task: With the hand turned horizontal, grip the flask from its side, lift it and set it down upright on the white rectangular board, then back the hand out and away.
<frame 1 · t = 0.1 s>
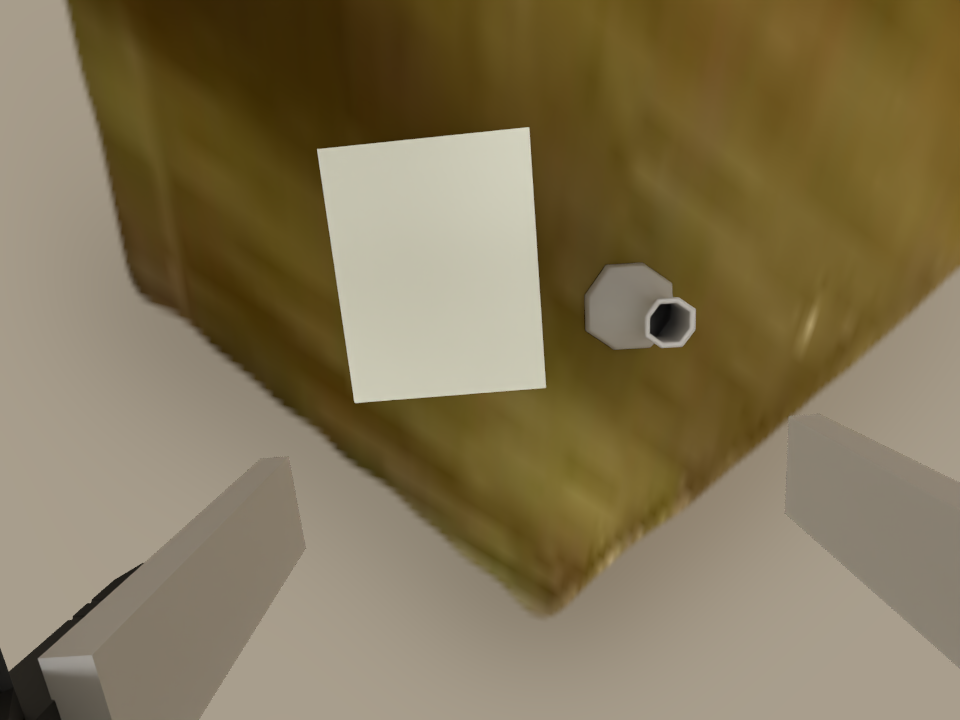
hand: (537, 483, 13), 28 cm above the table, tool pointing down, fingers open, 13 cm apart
white rectangular board: (437, 273, 39), on the table
flask: (626, 306, 40), on the table
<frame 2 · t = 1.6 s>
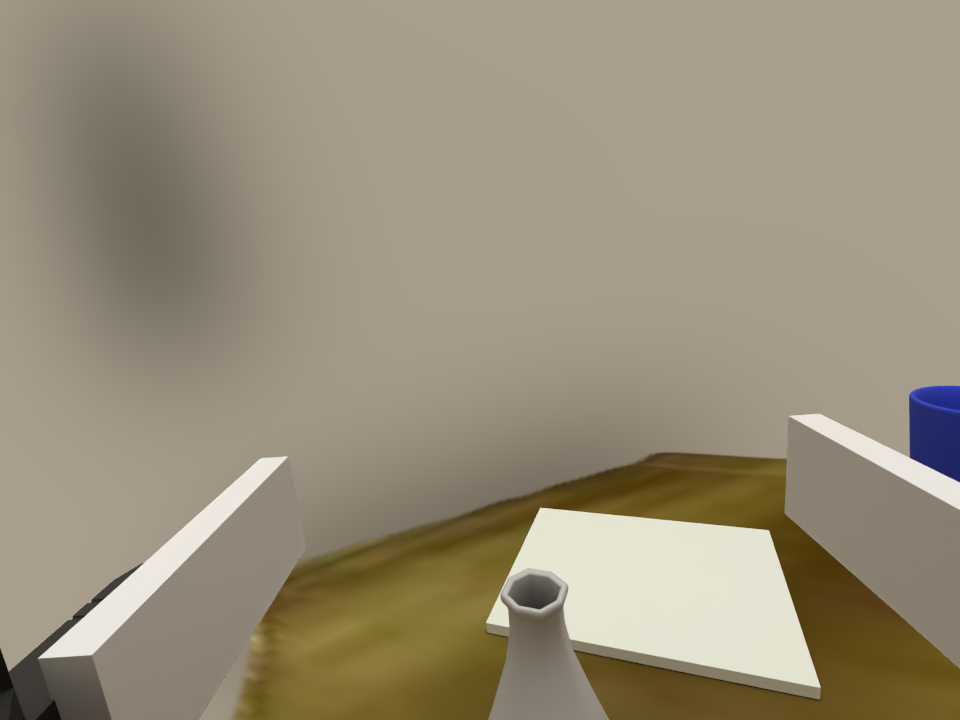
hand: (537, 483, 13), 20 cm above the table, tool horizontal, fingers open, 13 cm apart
white rectangular board: (640, 581, 38), on the table
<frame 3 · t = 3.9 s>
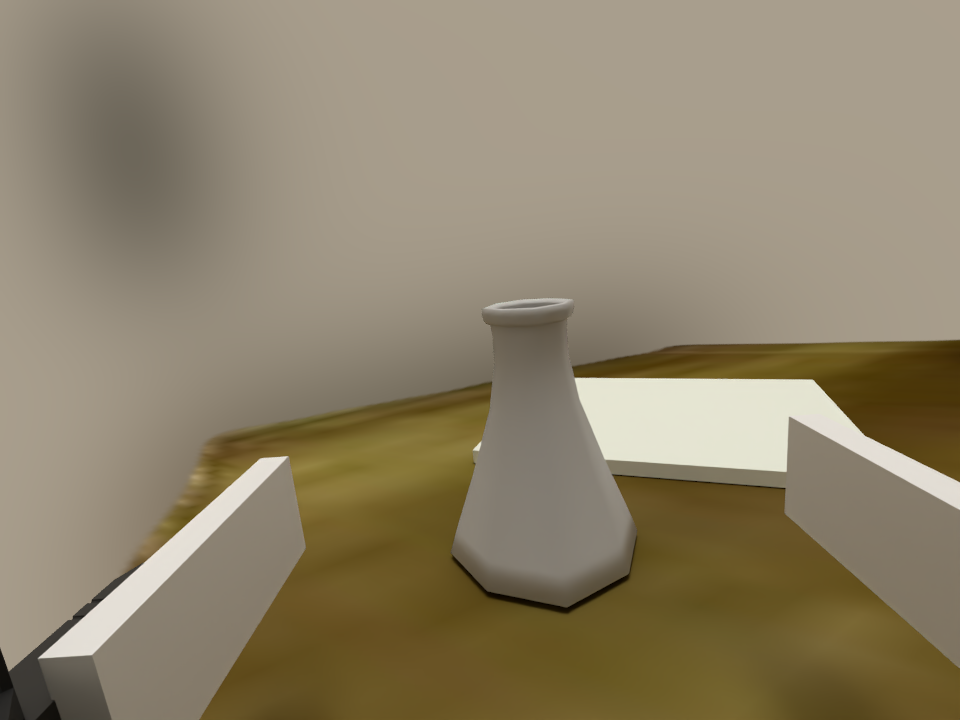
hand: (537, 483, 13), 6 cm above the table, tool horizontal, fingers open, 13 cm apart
white rectangular board: (661, 422, 32), on the table
flask: (545, 552, 20), on the table
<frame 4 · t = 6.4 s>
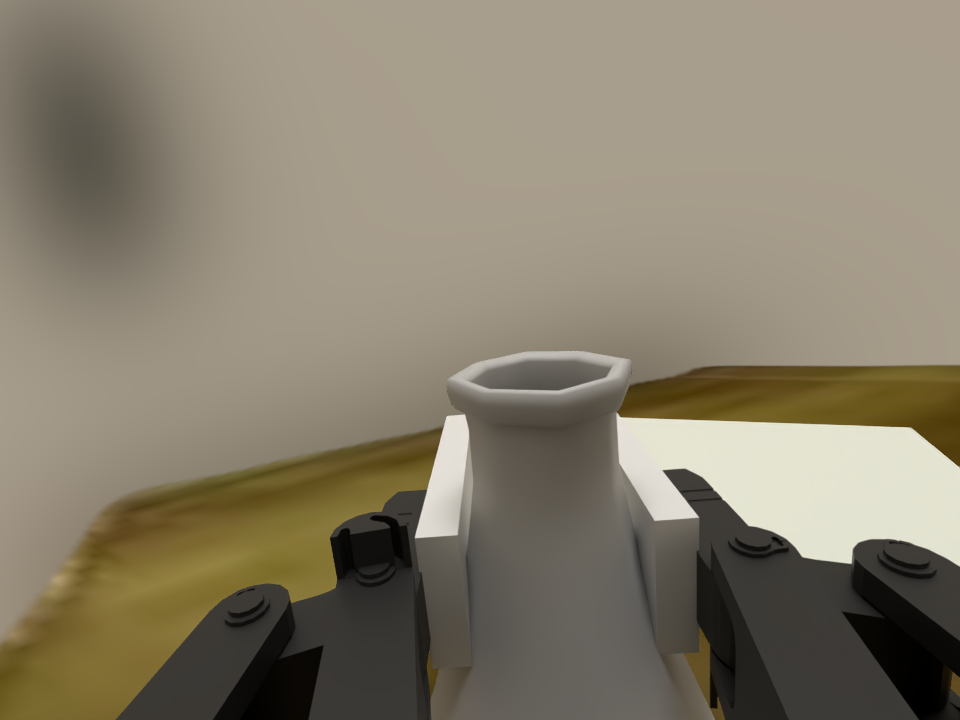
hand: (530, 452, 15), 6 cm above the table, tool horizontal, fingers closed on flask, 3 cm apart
white rectangular board: (716, 494, 23), on the table
when the fingers open (8 cm above the table, at t = 12.4 s): flask stays where it is, resting on white rectangular board.
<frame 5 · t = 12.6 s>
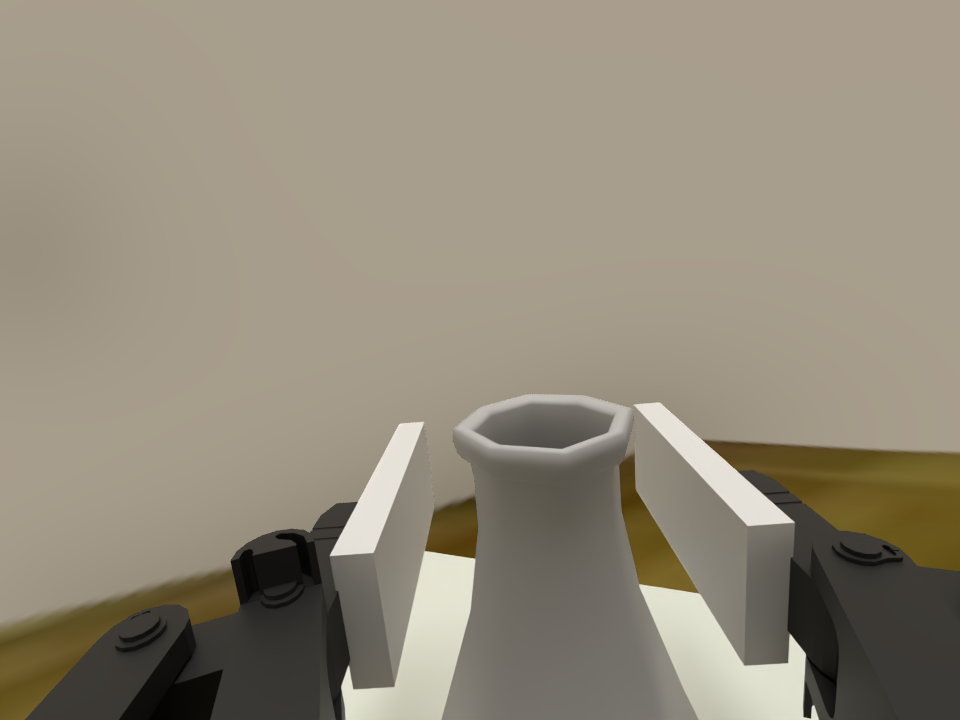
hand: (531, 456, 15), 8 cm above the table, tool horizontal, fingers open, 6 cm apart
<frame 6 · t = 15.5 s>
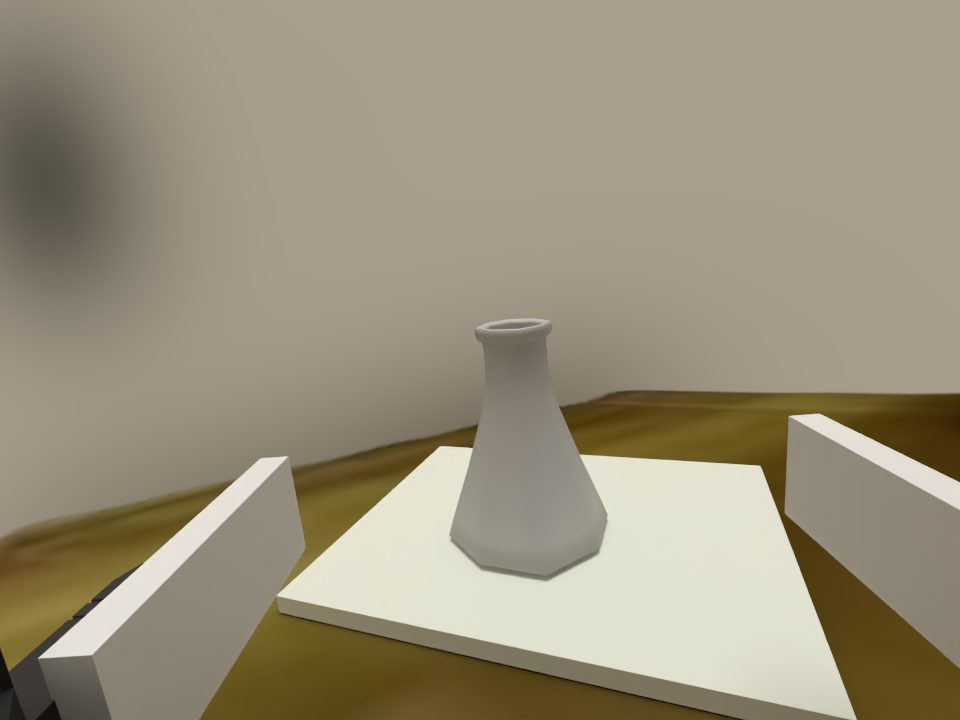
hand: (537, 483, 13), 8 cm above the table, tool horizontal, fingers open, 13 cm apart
white rectangular board: (555, 535, 24), on the table
flask: (529, 533, 24), point 1 cm above the table, touching white rectangular board
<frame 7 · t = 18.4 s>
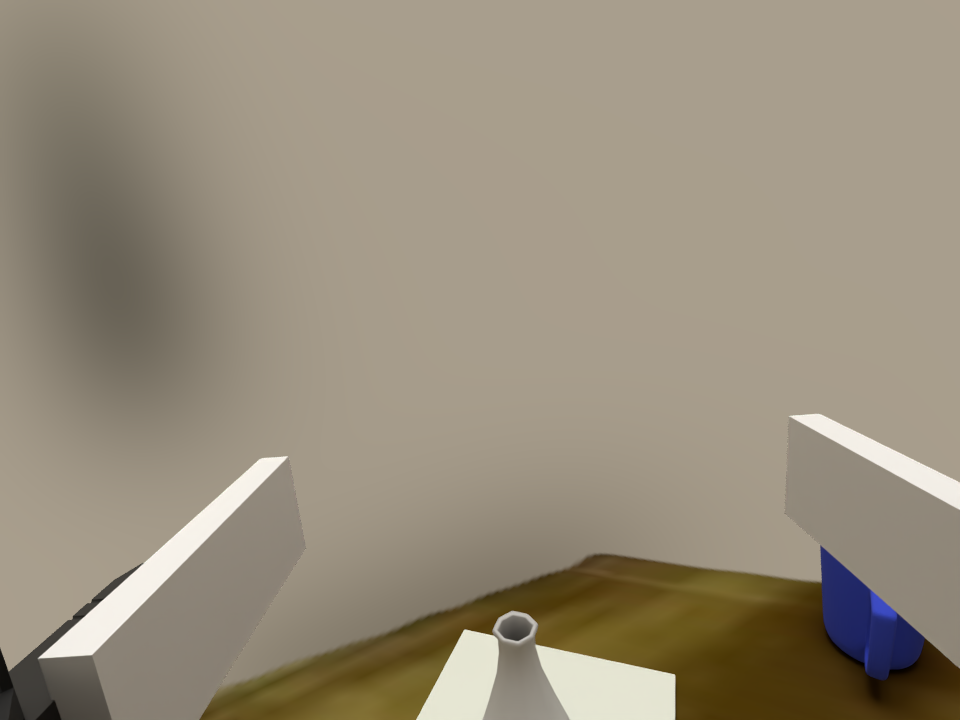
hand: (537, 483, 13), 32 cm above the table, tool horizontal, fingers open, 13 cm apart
mug: (870, 661, 43), on the table
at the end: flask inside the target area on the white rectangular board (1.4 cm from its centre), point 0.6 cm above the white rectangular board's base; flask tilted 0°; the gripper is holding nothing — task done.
